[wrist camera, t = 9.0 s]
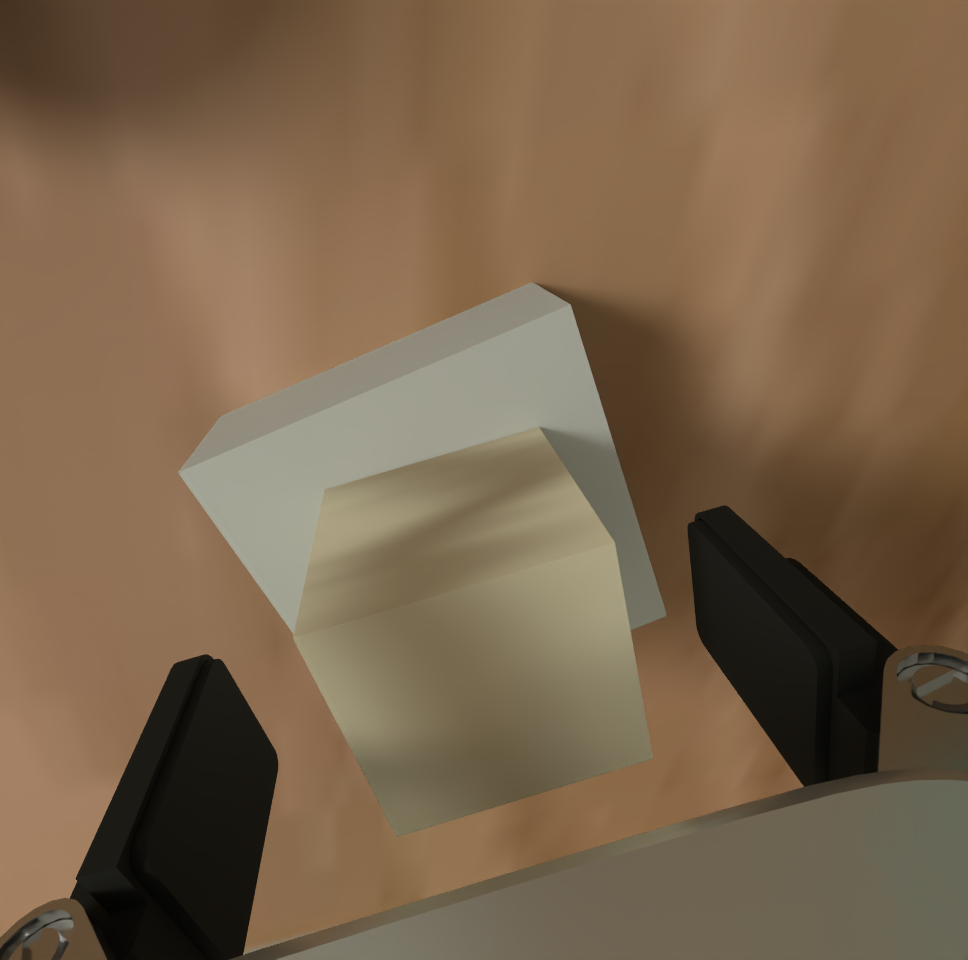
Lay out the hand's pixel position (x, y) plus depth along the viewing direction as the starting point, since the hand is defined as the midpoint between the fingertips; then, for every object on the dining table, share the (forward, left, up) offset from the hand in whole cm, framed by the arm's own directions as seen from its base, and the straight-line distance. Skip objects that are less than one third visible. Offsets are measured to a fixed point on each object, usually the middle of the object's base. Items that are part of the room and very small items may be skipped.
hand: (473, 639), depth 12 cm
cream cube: (0, 0, -3) cm, 3 cm away
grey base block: (0, 0, -7) cm, 7 cm away
